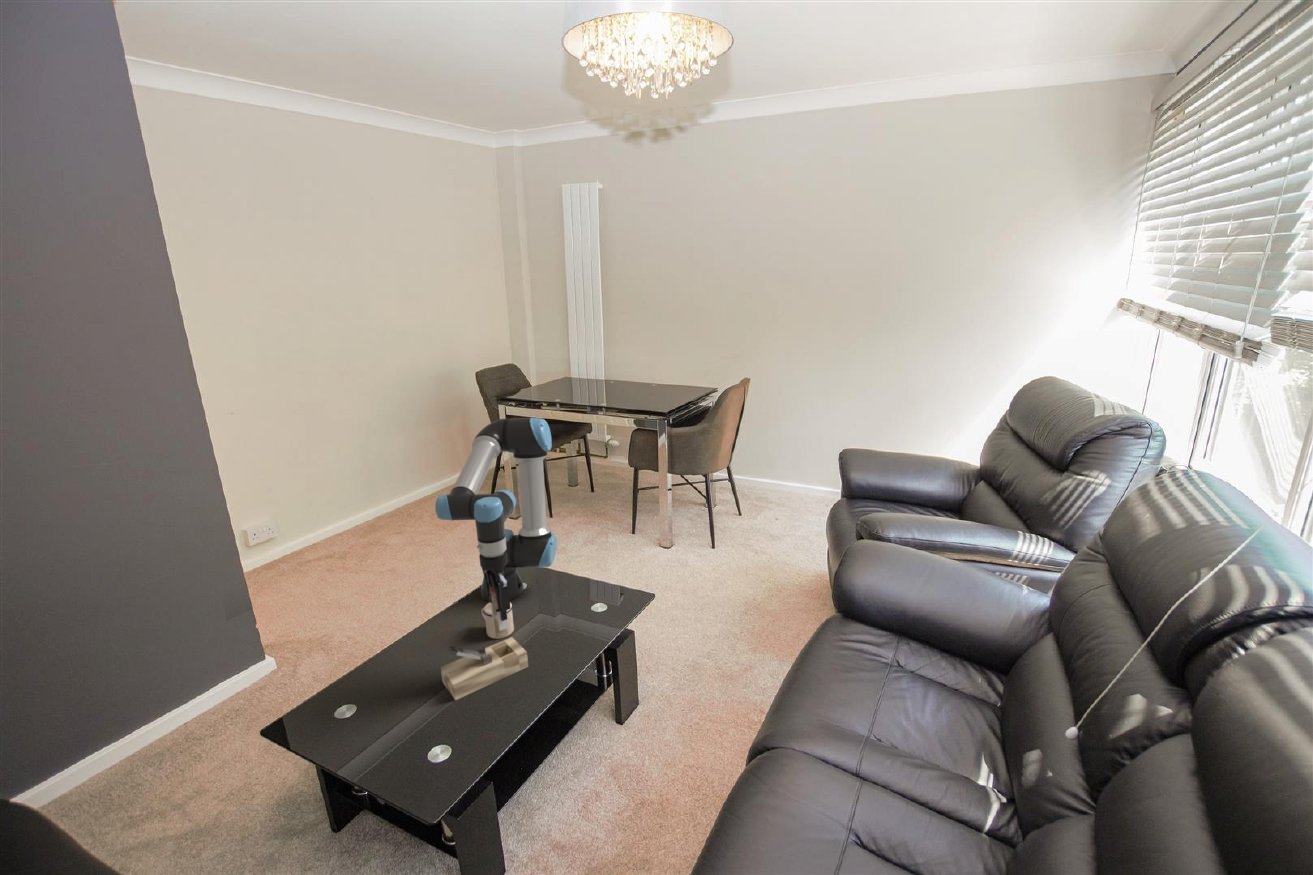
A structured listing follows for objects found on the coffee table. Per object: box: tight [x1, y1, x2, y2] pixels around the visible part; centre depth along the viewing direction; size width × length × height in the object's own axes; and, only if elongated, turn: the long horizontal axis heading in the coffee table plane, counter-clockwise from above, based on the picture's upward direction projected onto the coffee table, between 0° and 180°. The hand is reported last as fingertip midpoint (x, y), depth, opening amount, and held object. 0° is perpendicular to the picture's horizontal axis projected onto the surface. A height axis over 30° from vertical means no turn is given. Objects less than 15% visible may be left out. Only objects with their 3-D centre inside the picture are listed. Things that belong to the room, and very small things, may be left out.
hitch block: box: [440, 636, 529, 701], centre depth 169 cm, size 10×22×7 cm, turn 129°
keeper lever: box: [446, 645, 486, 660], centre depth 165 cm, size 3×12×1 cm
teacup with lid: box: [481, 602, 515, 640], centre depth 190 cm, size 12×9×12 cm
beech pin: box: [490, 587, 508, 638], centre depth 169 cm, size 4×4×15 cm
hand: (500, 625), depth 170 cm, fingers closed on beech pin, 3 cm apart
